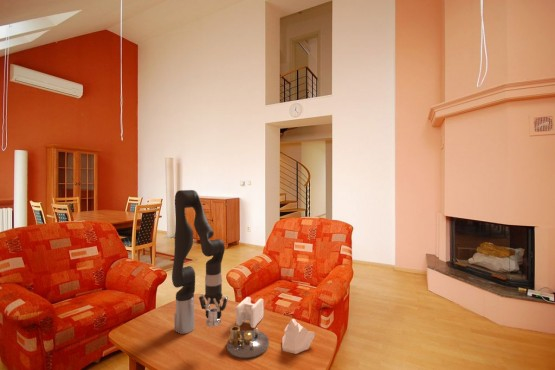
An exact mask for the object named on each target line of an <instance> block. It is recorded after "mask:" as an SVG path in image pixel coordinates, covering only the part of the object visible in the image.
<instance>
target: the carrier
mask: <svg viewBox="0 0 555 370" xmlns="http://www.w3.org/2000/svg"><path fill="white" fill-rule="evenodd" d="M240 335H242V342H241V343H240V344H238V345H234V344H233V345H231V344H229V339H228V340H227V342H226V351H227V352H228V354H230V355H231V357H234V358H236V359H242V360H249V359H255V358H258V357H260V356H261V355H263V354H264V353H265V352H266V351H267V350H268V348H269V345H270V343H269V337H268V336H267V335H266V334H265V333H263V332H262V331H261V330H260V331H259V328H258V327H255V328H254V330H253V329H246V330H242V331H241V330H240Z"/></svg>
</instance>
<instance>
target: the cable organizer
mask: <svg viewBox="0 0 555 370" xmlns="http://www.w3.org/2000/svg"><path fill="white" fill-rule="evenodd" d="M264 313H265V312H264V299H263V298H259V299H257V301H256V302H255V303H252V298H251V297H250V296H246V297H245V298H244V299H243V300H242V301H241V302H239V304H238V305H236V307H235V316H236V317H235V323H236V325H235V326H239V327H241V326H242V325H243V324H246V321H249V324H250V327H251V328H253V329H255V328H257V327H256V326H258V324H259V323H260V321H261V320H262V319H263V318H264Z"/></svg>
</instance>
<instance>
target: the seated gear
mask: <svg viewBox="0 0 555 370" xmlns="http://www.w3.org/2000/svg"><path fill="white" fill-rule="evenodd" d="M229 331H230V333H229V334H230V335H229V336H228V340H229V344H231V345H233V344H234V345H238V344H240V343H241V342H242V335H240V332H241V326H238V325H234V326H231V327H230V328H229Z"/></svg>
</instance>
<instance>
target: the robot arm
mask: <svg viewBox="0 0 555 370" xmlns="http://www.w3.org/2000/svg"><path fill="white" fill-rule="evenodd" d="M187 208H192V209H193V210H194V213H195V216H194V219H193V220H194V221H193V227H194V229H195V231H196V234H197V236H198V238H199V242H200V247H201V252H202V255H204V256H206V257H211V258H210V259H207V261H206V262H205V277H204V279H205V280H204V282H205V284H204V285H205V286H204V289H205V290H204V291H205V294H201V295H200V296H199V297H198V299H199V302H200V308H201V309H202V310H205V317H206V319H207V318H208V311H209V309H211V305H214V306H215V308H217V310H218V312H217V319H219V318H221V317H222V312H223V311H224V310H225V309H226V307H227V303H228V298H229V297H228V296H226V295H225V296H224V295H223V293H222V290H223V289H222V287H223V286H222V283H223V278H222V261H223V259H224V254H225V249H226V246H225V243H224V241H223V239H221V238H216V239H211V238H213V236H214V235H215V233H214V230H213V228H212V226H211V225H210V222H209V221H208V218H207V216H206V214H205V209H204V207H203V204H202V201H201V198H200V195H199V194H198V192H197V191H196V190H195V189H194V190H193V189H188V190H187V189H184V190H183V189H182V190H176V193H175V195H174V213H175V216H174V217H175V226H174V227H175V229H174V252H173V253H174V254H173V265H172V272H171V282H172V285H173V287H174V288H177V289H178V288H180V289H179V290H178V291H177V292H176V293H175V312H174V317H173V318H174V320H173V321H174V332H175V331H176V332H175V333H177V332H178V334H179V333H180V335H185V334H189V333H191V332H192V331H194V329H195V291H196V272H195V269H194V267H192V265H191V266H190V265H189V266H188V265H187V266H185V267H184V264H185V261H186V258H187V256H188V255H189V253H190V251H191V249H192V247H193V245H194V230H193V228H192V227H191V224H190V223H189V221H188V220H187V217H186V211H185V210H186V209H187ZM210 239H211V240H210ZM221 301H222V303H221Z"/></svg>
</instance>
